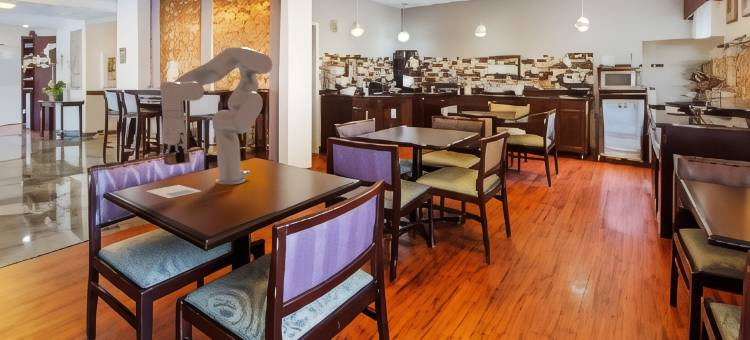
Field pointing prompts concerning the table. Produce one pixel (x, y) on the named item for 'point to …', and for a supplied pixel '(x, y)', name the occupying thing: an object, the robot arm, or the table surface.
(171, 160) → the brown block
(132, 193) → the table surface
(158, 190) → the mat
